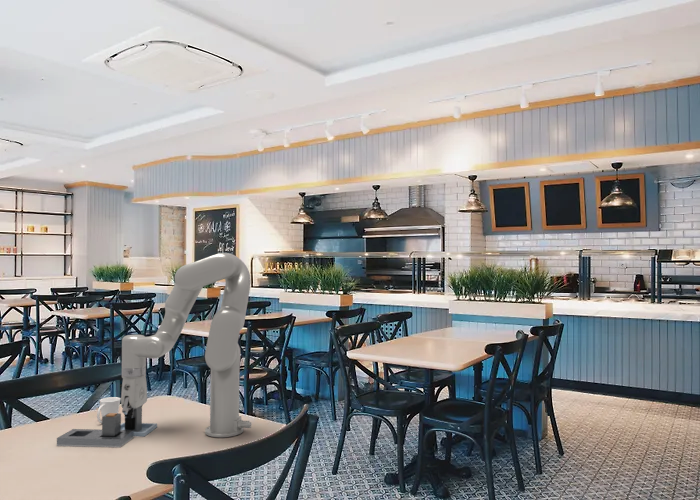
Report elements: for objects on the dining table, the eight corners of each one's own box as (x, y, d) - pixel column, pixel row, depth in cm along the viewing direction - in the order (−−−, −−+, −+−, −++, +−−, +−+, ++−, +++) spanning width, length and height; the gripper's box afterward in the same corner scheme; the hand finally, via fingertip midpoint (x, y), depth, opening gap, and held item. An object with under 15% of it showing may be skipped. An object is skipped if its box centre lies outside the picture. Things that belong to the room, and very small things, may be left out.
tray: (156, 428, 189) (157, 423, 189) (144, 438, 179) (144, 432, 179) (122, 428, 189) (122, 422, 189) (108, 437, 179) (108, 431, 179)
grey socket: (133, 439, 177) (133, 410, 177) (120, 449, 168) (120, 418, 168) (73, 438, 178) (73, 409, 179) (56, 447, 169) (57, 417, 170)
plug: (141, 429, 186) (141, 404, 186) (136, 433, 182) (136, 407, 182) (130, 429, 186) (130, 404, 186) (124, 433, 182) (124, 407, 182)
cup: (124, 420, 199) (124, 397, 199) (106, 428, 189) (107, 404, 189) (107, 418, 200) (107, 396, 200) (88, 426, 191) (89, 403, 191)
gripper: (133, 377, 176) (133, 435, 175) (155, 367, 192) (154, 420, 192) (110, 377, 176) (110, 435, 176) (134, 367, 193) (133, 419, 193)
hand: (133, 426), depth 184 cm, fingers closed on plug, 4 cm apart
